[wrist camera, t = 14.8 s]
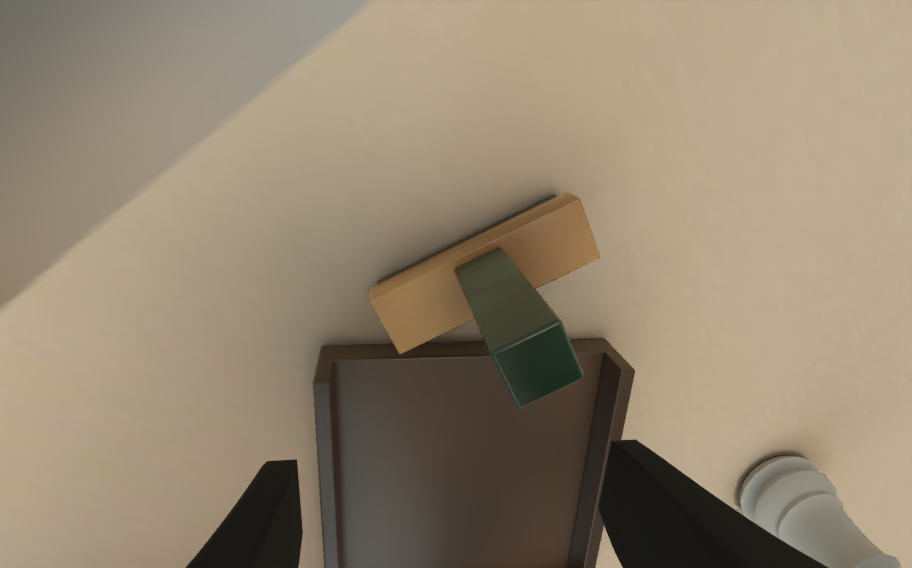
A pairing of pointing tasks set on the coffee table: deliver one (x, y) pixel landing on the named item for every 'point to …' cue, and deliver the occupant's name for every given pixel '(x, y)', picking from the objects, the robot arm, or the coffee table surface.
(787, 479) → the rook chess piece
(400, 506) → the tray
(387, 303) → the brush
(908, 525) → the coffee table surface
